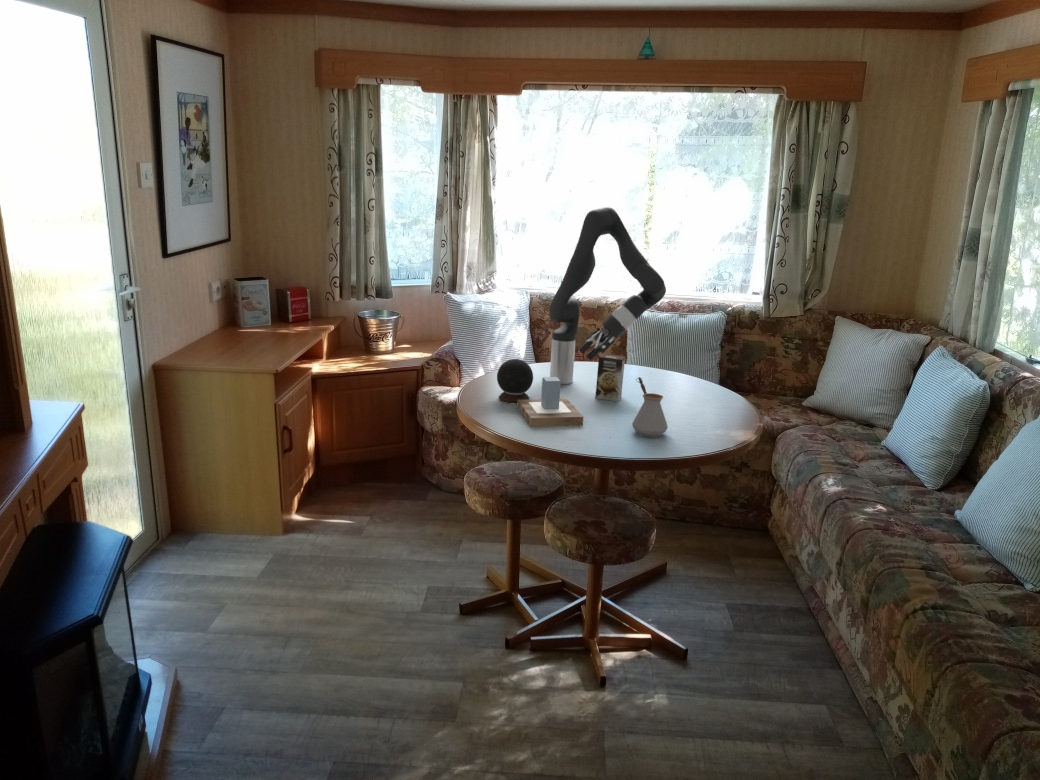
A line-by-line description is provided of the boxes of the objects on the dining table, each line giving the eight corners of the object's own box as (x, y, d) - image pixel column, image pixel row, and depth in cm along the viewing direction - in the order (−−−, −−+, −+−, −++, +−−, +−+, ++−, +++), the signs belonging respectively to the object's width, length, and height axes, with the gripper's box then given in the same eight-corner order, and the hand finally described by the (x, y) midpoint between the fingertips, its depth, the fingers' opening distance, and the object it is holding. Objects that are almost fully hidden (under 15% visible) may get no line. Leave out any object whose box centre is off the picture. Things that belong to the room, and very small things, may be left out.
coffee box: (594, 398, 288) (597, 356, 284) (598, 394, 294) (601, 352, 290) (618, 401, 286) (622, 359, 281) (621, 397, 292) (625, 355, 287)
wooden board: (517, 407, 274) (517, 398, 273) (566, 406, 278) (566, 397, 277) (530, 426, 255) (531, 417, 254) (582, 425, 259) (583, 415, 258)
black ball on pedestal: (495, 403, 277) (496, 363, 272) (496, 393, 289) (498, 354, 285) (531, 405, 277) (534, 365, 272) (532, 394, 289) (534, 356, 285)
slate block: (541, 404, 267) (542, 377, 264) (555, 404, 268) (556, 376, 265) (544, 409, 262) (546, 381, 260) (558, 409, 264) (560, 380, 261)
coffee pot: (671, 439, 250) (676, 395, 245) (637, 439, 248) (641, 395, 243) (651, 417, 270) (655, 376, 265) (619, 418, 268) (622, 376, 264)
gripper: (605, 309, 267) (571, 342, 268) (619, 318, 254) (583, 352, 255) (618, 325, 270) (584, 357, 270) (633, 334, 256) (597, 368, 257)
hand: (584, 354), depth 263 cm, fingers open, 8 cm apart
